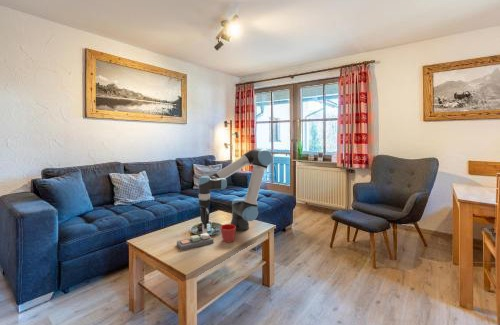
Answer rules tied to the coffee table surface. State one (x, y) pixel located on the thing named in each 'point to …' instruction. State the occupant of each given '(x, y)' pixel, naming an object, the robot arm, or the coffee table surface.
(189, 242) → the key terracotta
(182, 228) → the coffee table surface
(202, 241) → the grey rectangular tray
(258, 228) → the coffee table surface
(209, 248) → the coffee table surface
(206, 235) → the key ivory
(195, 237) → the key sage
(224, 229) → the flower pot
